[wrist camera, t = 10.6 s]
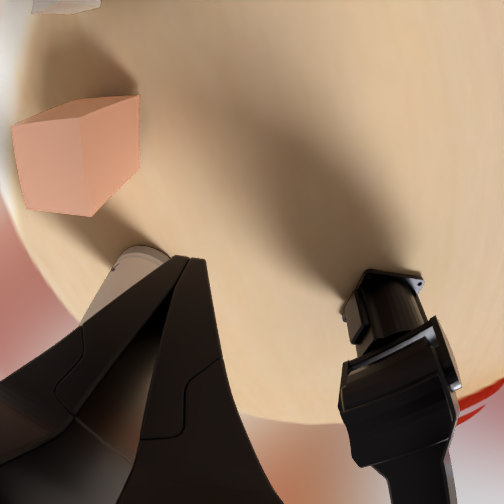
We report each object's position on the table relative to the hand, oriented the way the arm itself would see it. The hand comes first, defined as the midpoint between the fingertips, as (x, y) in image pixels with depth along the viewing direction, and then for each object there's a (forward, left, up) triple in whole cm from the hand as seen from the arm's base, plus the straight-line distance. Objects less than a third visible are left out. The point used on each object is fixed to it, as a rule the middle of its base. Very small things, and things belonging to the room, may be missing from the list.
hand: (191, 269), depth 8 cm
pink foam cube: (+9, 0, -12) cm, 15 cm away
